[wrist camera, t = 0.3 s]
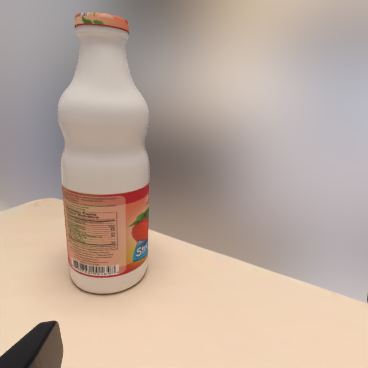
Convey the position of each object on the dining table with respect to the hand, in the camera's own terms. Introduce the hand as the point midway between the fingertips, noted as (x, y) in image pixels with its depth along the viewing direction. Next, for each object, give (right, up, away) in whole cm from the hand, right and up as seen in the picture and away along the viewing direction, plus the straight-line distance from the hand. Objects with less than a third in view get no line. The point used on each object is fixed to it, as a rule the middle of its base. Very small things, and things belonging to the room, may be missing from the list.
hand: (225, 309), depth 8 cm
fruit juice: (-11, -8, +27) cm, 30 cm away
